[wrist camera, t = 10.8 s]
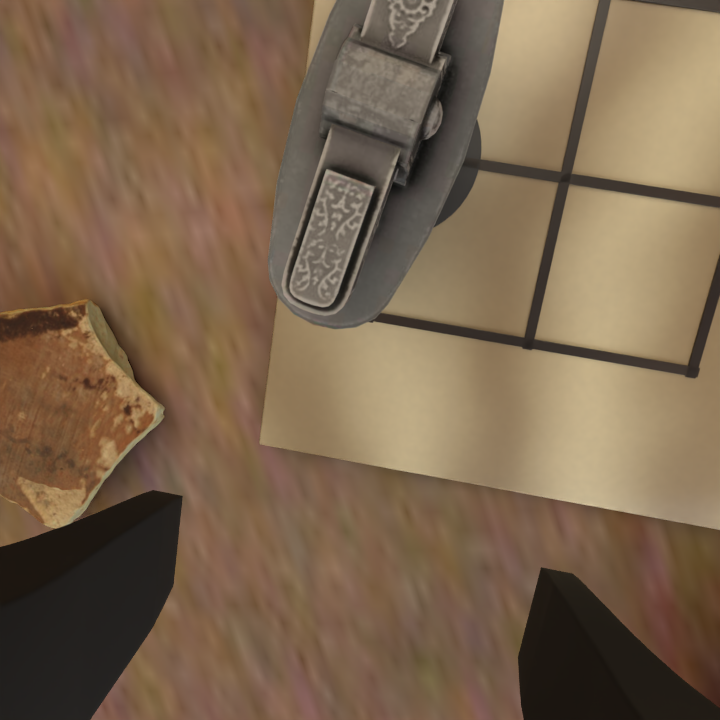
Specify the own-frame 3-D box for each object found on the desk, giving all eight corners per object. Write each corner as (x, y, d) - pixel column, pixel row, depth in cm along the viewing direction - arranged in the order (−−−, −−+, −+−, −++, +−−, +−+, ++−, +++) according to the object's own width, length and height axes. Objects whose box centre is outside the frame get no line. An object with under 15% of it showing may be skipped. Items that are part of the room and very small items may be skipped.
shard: (-160, 330, 25) (-205, 341, 23) (-52, 164, 23) (-92, 162, 21) (75, 523, 26) (49, 547, 24) (198, 378, 24) (179, 393, 22)
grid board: (951, -164, 18) (983, -187, 17) (729, 520, 23) (744, 536, 22) (350, -238, 19) (345, -263, 18) (265, 434, 24) (257, 445, 23)
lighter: (392, -13, 19) (351, -215, 10) (506, 29, 19) (580, -132, 10) (302, 259, 21) (194, 319, 12) (404, 297, 21) (381, 388, 12)
